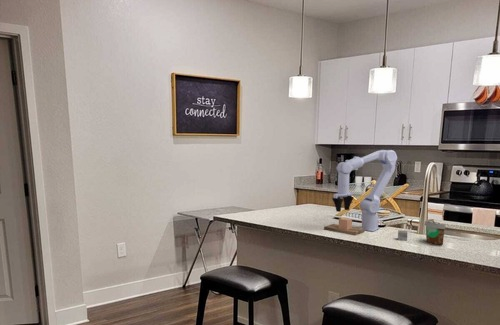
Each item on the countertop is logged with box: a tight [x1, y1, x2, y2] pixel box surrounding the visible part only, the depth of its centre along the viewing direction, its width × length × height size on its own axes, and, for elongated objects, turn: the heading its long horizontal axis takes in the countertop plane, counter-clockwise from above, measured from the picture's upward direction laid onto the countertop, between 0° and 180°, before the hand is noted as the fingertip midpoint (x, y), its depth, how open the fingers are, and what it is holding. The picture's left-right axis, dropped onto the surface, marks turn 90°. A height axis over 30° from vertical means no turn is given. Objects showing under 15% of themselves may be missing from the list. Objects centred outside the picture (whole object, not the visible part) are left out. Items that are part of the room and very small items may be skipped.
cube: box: [337, 217, 353, 230], centre depth 198 cm, size 5×5×5 cm
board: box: [323, 223, 365, 236], centre depth 199 cm, size 10×18×2 cm, turn 49°
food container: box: [423, 218, 446, 246], centre depth 178 cm, size 12×6×10 cm, turn 178°
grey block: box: [397, 229, 408, 242], centre depth 183 cm, size 4×4×4 cm
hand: (342, 210), depth 200 cm, fingers open, 7 cm apart
